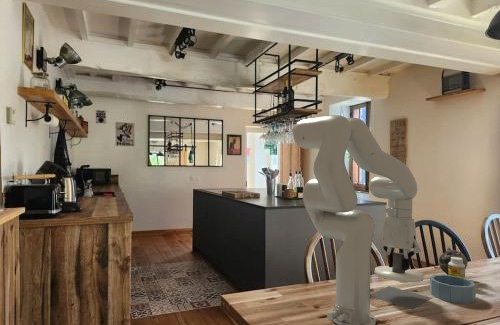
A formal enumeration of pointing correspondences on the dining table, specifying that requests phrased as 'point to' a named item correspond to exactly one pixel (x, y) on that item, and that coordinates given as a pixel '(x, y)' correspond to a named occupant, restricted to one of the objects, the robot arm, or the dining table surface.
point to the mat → (400, 297)
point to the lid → (398, 271)
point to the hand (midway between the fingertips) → (398, 267)
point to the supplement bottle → (456, 267)
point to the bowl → (453, 289)
